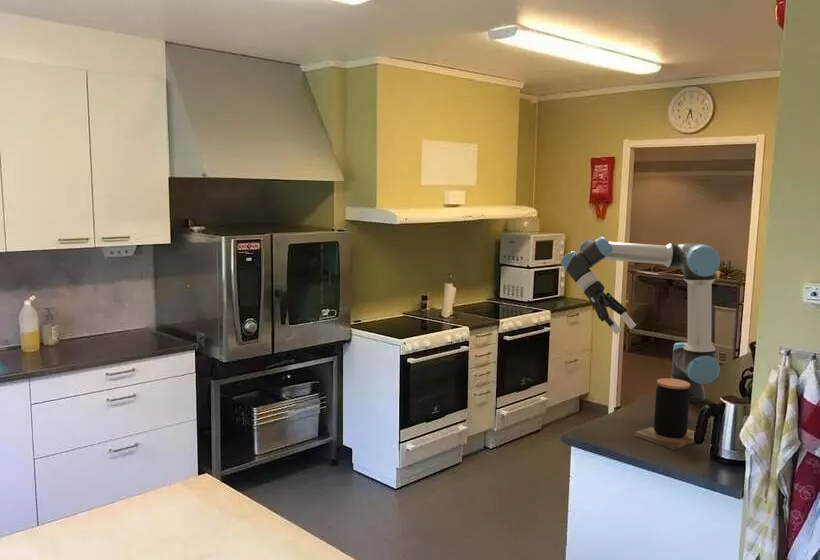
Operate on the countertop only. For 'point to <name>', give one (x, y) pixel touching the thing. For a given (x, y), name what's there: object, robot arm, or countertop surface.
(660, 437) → the walnut board
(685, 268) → the robot arm
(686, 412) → the coffee jar
